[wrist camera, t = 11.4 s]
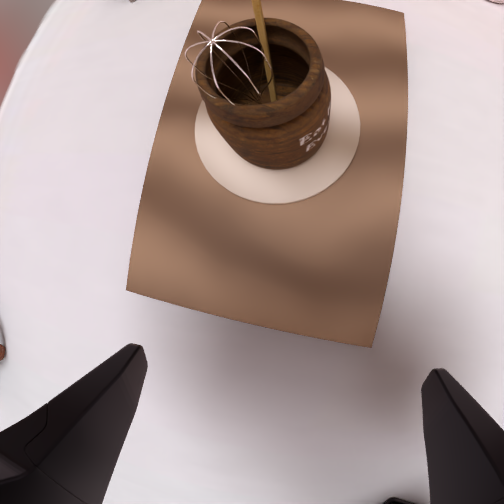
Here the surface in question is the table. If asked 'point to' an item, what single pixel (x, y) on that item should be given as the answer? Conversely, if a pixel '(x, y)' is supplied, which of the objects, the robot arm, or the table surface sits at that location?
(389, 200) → the walnut board
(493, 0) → the fruit juice
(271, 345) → the table surface
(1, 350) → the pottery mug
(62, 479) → the robot arm
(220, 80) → the utensil holder
